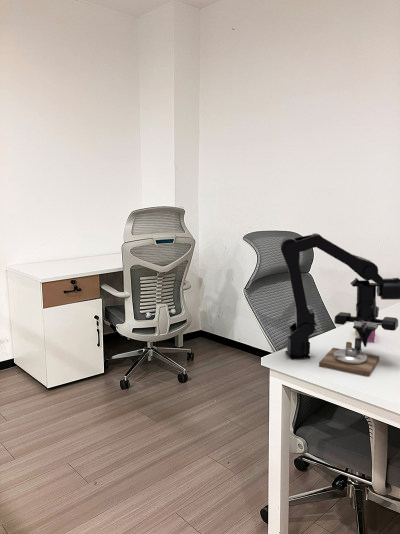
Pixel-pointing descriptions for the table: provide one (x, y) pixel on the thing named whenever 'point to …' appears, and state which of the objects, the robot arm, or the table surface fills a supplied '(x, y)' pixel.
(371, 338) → the box
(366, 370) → the base plate
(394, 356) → the table surface
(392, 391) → the table surface
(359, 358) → the flange
